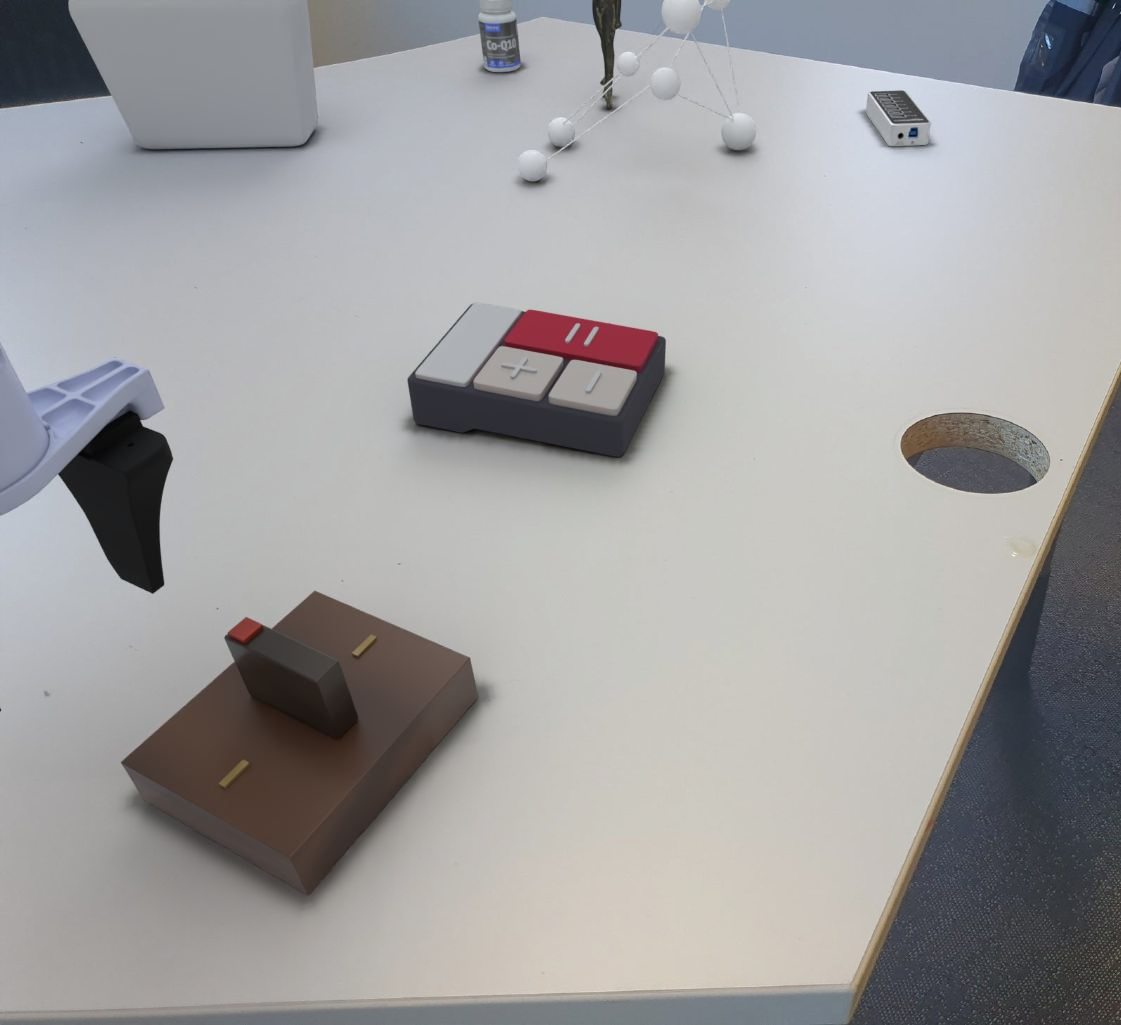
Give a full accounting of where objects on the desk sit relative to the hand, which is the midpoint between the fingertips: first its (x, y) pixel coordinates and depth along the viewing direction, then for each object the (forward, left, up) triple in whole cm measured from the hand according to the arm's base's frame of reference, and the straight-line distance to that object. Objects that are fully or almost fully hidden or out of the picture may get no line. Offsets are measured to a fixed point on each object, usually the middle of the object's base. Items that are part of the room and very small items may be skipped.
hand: (65, 640), depth 40 cm
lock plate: (+5, -6, -9) cm, 12 cm away
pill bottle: (+96, +48, -10) cm, 108 cm away
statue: (+90, +29, -10) cm, 95 cm away
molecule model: (+77, +17, -10) cm, 79 cm away
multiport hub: (+98, -4, -10) cm, 99 cm away
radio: (+62, +60, -10) cm, 87 cm away
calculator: (+35, +1, -10) cm, 36 cm away
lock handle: (+5, -6, -6) cm, 10 cm away
